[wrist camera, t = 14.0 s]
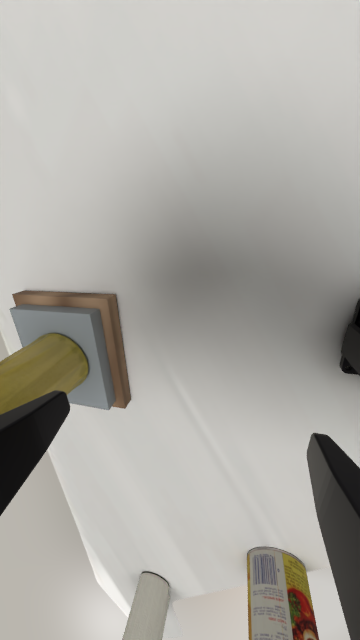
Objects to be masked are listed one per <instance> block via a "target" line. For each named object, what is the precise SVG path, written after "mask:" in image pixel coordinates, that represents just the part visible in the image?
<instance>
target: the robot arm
mask: <svg viewBox="0 0 360 640" xmlns="http://www.w3.org/2000/svg"><path fill="white" fill-rule="evenodd" d="M341 353H342V354H343V356H342V359H341V363H340V368H341V370H342V371H343V372H344V373H348V374H358V375H360V300H359V301H358V304H357V307H356V311H355V314H354V318H353V321H352V323H350V324H349V325H348V329H347V332H346V336H345V339H344V343H343V346H342V350H341ZM346 366H350V367H349V368H345V367H346ZM69 411H70V405H69V401H68V397H67V394H66V393H65V392H64V391H59V390H54V391H52V392H50V393H47V394H45V395H43V396H41V397H39V398H36V399H34V400H32V401H30V402H27V403H25V404H23V405H21V406H19V407H16V408H14V409H12V410H10V411H8V412H5V413H3V414H1V415H0V516H1V514H2V513H3V512H4V510H5V509H6V507H7V506H8V504H9V503H10V502H11V500H12V499H13V497H14V496H15V495H16V493H17V492H18V490H19V489H20V487H21V486H22V485H23V483H24V482H25V480H26V479H27V478H28V476H29V475H30V473H31V472H32V470H33V469H34V468H35V466H36V465H37V463H38V462H39V461H40V459H41V458H42V456H43V455H44V453H45V452H46V450H47V449H48V447H49V446H50V444H51V442H52V441H53V439H54V437H55V436H56V434H57V432H58V431H59V429H60V427H61V425H62V424H63V422H64V420H65V419H66V417H67V415H68V414H69ZM307 461H308V467H309V473H310V478H311V484H312V490H313V496H314V502H315V507H316V512H317V517H318V521H319V525H320V529H321V533H322V537H323V540H324V544H325V547H326V551H327V555H328V558H329V562H330V566H331V569H332V573H333V577H334V580H335V584H336V587H337V591H338V595H339V599H340V602H341V606H342V609H343V613H344V617H345V620H346V624H347V628H348V631H349V635H350V638H351V640H360V468H359V467H358V466H357V465H356V464H355V463H354V462H353V461H352V460H351V459H350V458H349V457H348V456H347V454H346V453H345V452H344V451H343V450H342V449H341V448H340V447H339V446H338V445H337V444H336V443H335V442H334V441H333V440H332V439H331V438H330V437H329V436H328V435H324V434H318V433H313V434H312V435H311V438H310V442H309V446H308V449H307Z"/></svg>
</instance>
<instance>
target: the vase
mask: <svg viewBox="0 0 360 640" xmlns="http://www.w3.org/2000/svg"><path fill="white" fill-rule="evenodd" d="M87 375H88V363H87V359H86V357H85V355H84V353H83V352H82V350H81V349H80V348H79V346H78V345H77V344H76V343H74V342H73V341H72V340H71V339H69V338H67V337H65V336H63V335H60V334H56V333H49V334H45V335H42V336H40V337H39V338H38V339H36V340H35V341H33V342H32V343H30V344H29V345H27V346H25V347H23V348H22V349H20V350H18V351H17V352H15V353H14V354H12V355H10V356H9V357H7V358H5V359H4V360H2V361H1V362H0V415H1V414H3V413H5V412H8V411H10V410H12V409H14V408H16V407H19V406H21V405H23V404H25V403H27V402H30V401H32V400H34V399H36V398H39V397H41V396H43V395H45V394H47V393H50V392H52V391H54V390H59V391H64V392H65V393H66V394H67V395H68V394H69V393H70V392H71V391H72V390H74V389H75V388H76V387H77V386H79V385H80V384H82V383H83V382H84V380H85V379H86V377H87Z"/></svg>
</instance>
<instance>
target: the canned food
mask: <svg viewBox="0 0 360 640" xmlns="http://www.w3.org/2000/svg"><path fill="white" fill-rule="evenodd" d="M247 577H248V621H249V622H248V625H249V640H319V637H318V632H317V627H316V621H315V616H314V611H313V606H312V600H311V595H310V590H309V584H308V580H307V574H306V569H305V566H304V565H303V563H302V562H301V561H300V560H299V559H298V558H297V557H295V556H293V555H292V554H290V553H288V552H285V551H283V550H280V549H276V548H270V547H258V548H254V549H252V550H250V551H249V553H248V554H247Z"/></svg>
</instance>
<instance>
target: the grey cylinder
mask: <svg viewBox="0 0 360 640" xmlns="http://www.w3.org/2000/svg"><path fill="white" fill-rule="evenodd" d="M168 591H169V586H168V583H167V582H166V581H165V580H163V579H162V578H160V577H159V576H157V575H154V574H151V573H142V574H141V576H140V579H139V583H138V586H137V590H136V593H135V597H134V600H133V604H132V607H131V611H130V614H129V618H128V621H127V625H126V628H125V632H124V635H123V639H122V640H162V637H163V631H164V626H165V621H166V616H167V610H168V605H169V600H170V596H169V595H168Z"/></svg>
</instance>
